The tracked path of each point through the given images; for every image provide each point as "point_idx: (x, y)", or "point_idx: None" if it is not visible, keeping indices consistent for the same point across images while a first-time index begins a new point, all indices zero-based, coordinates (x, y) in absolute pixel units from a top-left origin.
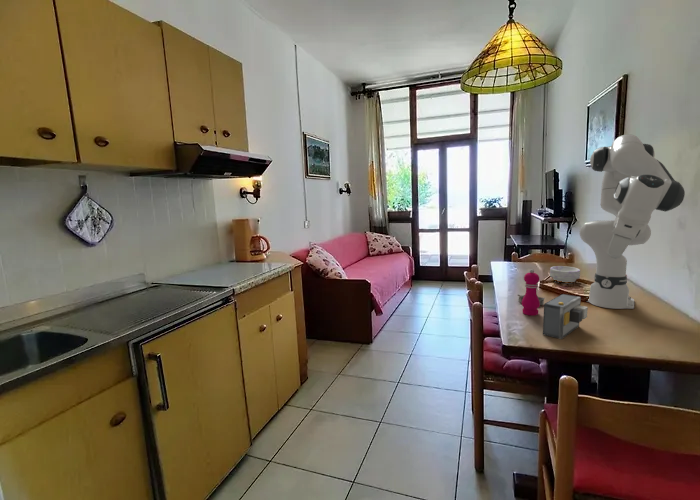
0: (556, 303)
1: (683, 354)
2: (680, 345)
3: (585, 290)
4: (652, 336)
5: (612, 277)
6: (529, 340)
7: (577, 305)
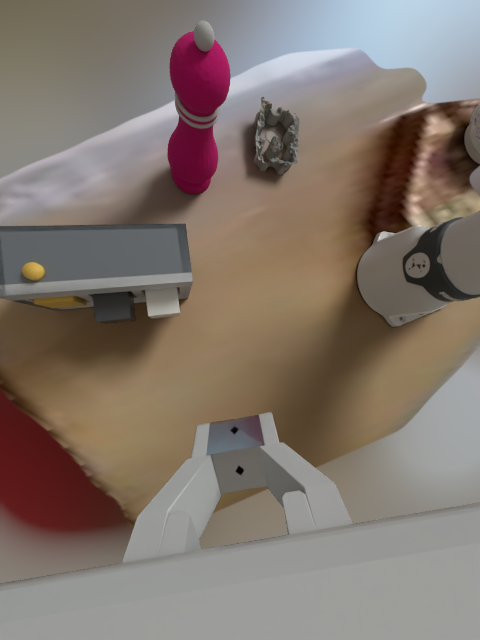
0: (33, 257)
1: None
2: None
3: (447, 205)
4: None
5: (443, 273)
6: None
7: None
